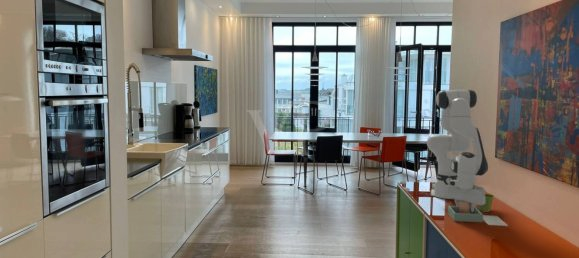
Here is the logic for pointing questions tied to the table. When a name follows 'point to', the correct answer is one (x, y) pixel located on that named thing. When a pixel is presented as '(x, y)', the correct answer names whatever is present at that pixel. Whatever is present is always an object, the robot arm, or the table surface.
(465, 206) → the seedling pot
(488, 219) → the mat
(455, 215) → the frame
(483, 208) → the plant pot
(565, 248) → the table surface
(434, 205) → the table surface
